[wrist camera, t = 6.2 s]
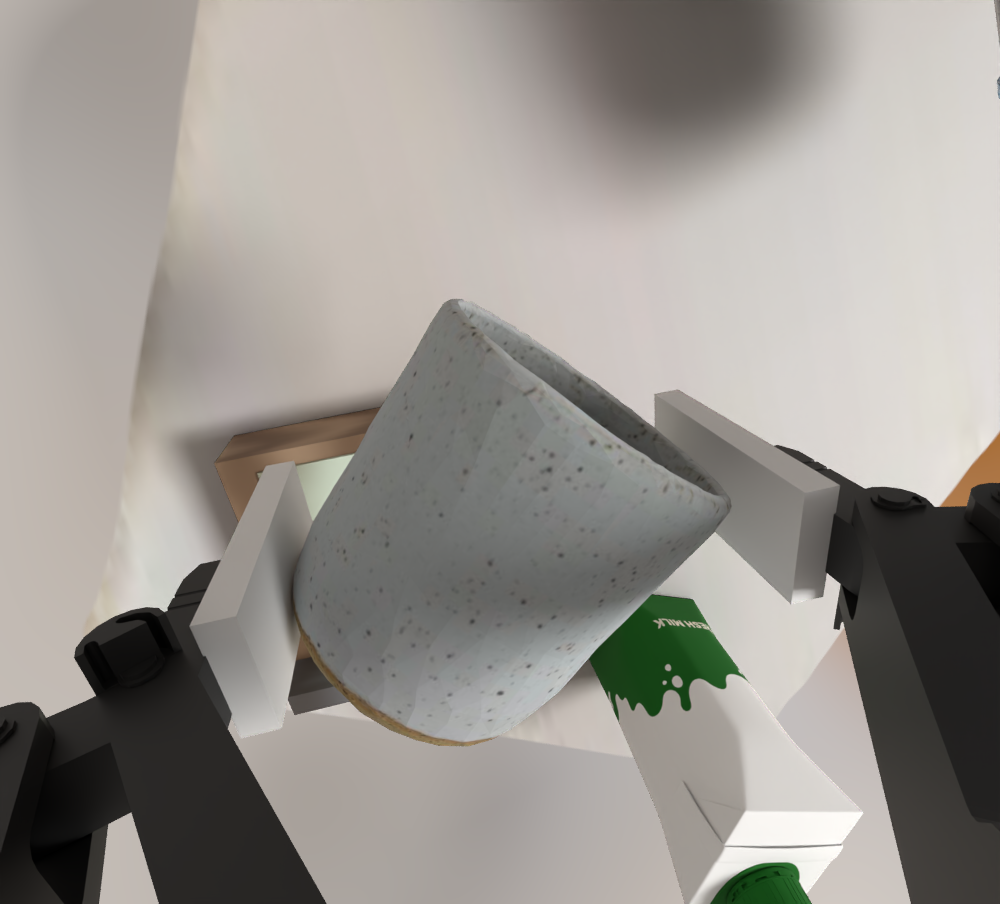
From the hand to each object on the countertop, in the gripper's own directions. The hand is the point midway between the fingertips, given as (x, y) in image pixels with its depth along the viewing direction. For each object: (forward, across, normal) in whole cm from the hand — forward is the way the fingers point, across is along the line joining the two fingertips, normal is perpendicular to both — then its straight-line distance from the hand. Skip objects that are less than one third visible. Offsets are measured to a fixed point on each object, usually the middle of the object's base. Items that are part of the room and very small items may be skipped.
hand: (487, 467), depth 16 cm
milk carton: (+19, +13, -26) cm, 35 cm away
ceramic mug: (+1, +1, -1) cm, 1 cm away
